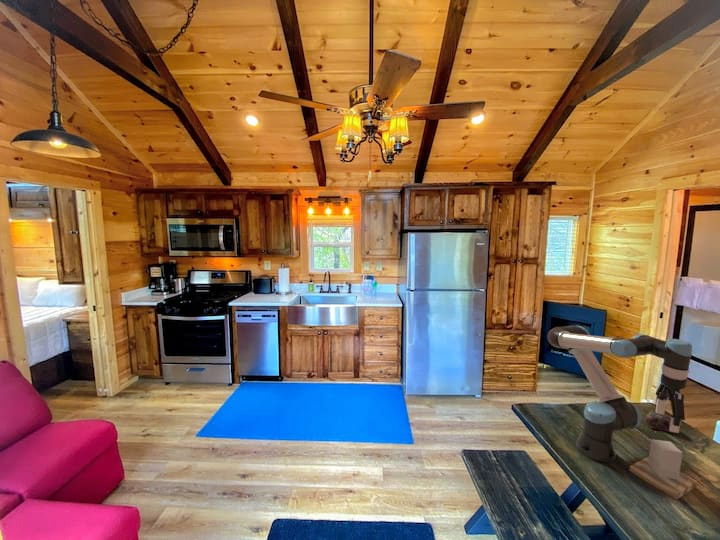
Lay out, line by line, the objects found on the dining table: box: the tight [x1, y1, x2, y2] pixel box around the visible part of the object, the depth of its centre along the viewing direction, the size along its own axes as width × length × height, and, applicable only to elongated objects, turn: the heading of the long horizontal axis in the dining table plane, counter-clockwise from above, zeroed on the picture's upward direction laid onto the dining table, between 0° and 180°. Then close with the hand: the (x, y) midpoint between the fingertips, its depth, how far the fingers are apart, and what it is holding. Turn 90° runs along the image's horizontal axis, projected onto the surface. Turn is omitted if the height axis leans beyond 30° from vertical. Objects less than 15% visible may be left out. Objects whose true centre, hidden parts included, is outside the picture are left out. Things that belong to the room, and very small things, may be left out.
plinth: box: [629, 455, 698, 500], centre depth 134 cm, size 16×16×3 cm
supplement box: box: [648, 438, 683, 480], centre depth 133 cm, size 7×7×13 cm
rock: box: [644, 409, 675, 434], centre depth 167 cm, size 12×9×10 cm
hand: (666, 422), depth 132 cm, fingers open, 13 cm apart
